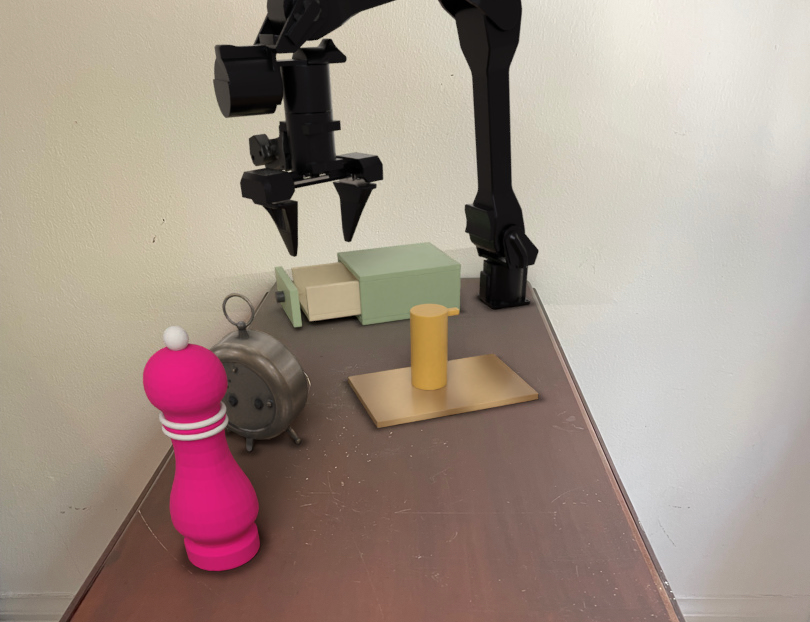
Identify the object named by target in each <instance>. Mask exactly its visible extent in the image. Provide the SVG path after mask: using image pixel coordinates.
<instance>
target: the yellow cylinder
mask: <svg viewBox="0 0 810 622" xmlns="http://www.w3.org/2000/svg"><path fill="white" fill-rule="evenodd" d="M459 315H460V311H459V309H458V308H456V307H454V308H446V307H445V306H442V305H438V304H421V305H417V306H414V307H412V308H411V309H410V319H409V332H410V333H409V334H410V367H411V383H412V385H413V386H414V387H416V388H418V389H422V390H436V389H440V388H442V387H444V386H445V385H446V384H447V361H448V355H449V354H448V350H449V349H448V346H449V345H448V343H449V342H448V340H449V317H452V316H459Z"/></svg>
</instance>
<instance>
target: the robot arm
mask: <svg viewBox="0 0 810 622" xmlns="http://www.w3.org/2000/svg"><path fill="white" fill-rule="evenodd" d="M395 1H397V0H266V12H267V13H266V15H265V17H264V20H263V21H262V23H261V26H260V28H259V31H258V33H257V35H256V37H255V40H254V43H253V44H249V45H234V44H223V43H222V44H215V45H214V53H215V59H214V65H213V75H214V78H213V79H212V83H213V89H214V93H215V99H216V103H217V105H218V108H219V110H220V113H221V114H222V116H223V117H224V118H225V119H230V118H242V117H254V116H266V115H274V114H275V113H276V110H277V108H278V106H281V105H282V102H283V109H284V110H283V111H284V119H285V120H279V121H278V123H279V125H278V136H277V137H275V138H269V137H268V135H267V134H266V133H259V134H254V135H251V136H250V137H248V147H249V148H248V149H249V156H250V158H251V162H252V164H253V165H254V166H255V167H261V166H264V167H263V168H258V169H252V170H246V171H243V174H242V176H241V177H240V180H239V187H240V193H241V198H243V199H247V200H251V201H252V203H253V204H254V205H258V206H262V208H263V209H264V210H265V211H266V212H267V214H268V215H269V216H270V218H271V219H272V222H273V223H274V224H275V226H276V229H277V231H278V233H279V236H280V237H281V239H282V241H283V243H284V246H285V248H286V250H287V253H288V254H289V255H290V256H291V257H295V258H296V257H297V256H298V250H299V201H298V200H294V199H292V198H293V196H294V194H295V193H296V189H301V188H305V187H309V186H314V185H321V184H325V183H330V182H332V184H333V186H334V188H335V191H336V193H337V195H338V198H339V207H340V217H341V219H340V220H341V231H342V236H343V240H344V242H345V243H351V242H352V241H353V238H354V236H355V232H356V230H357V228H358V225H359V222H360V219H361V216H362V214H363V211H364V209H365V207H366V205H367V203H368V201H369V198H370V196H371V194H372V192H373V190H375V189H377V187H378V184H377V183H375V182H380V181H384V164H383V162H382V161H381V159H380V157H379V155H377V154H370V153H364V152H357V151H354V152H349V153H343V154H337V149H336V136H335V132H337V131H341V130H342V127H341V126H342V125H341V120H340V119H334V111H333V96H332V95H333V94H332V82H331V70H330V69H331V67H330V65H332V64H333V65H334V64H345V63H347V60H348V58H347V55H346V54H344V52H342V50H340V49H339V48H338V46H337V45H336V44H335V43H334V41H333V39H332V38H330V37H329V38H326V36H327V35H329V34H331V33H332V32H334V31H336V30H337V29H340V27H342V26H343V25H345V24H346V23H347V22H348V21H349V20H350V19H352V18H353V17H354V16H356V15H358V14H359V13H361V12H364V11H368V10H371V9H373V8H377V7H381V6H384V5H386V4H389V3H392V2H395ZM437 2H438V3H439V5H440V7H441V8H442V9H443V11H445V12H446V13H447V14H448V15H449V16H450V17H451V18H452V19H453V20H455V21H454V22H455V26H456V32H457V37H458V42H459V47H460V50H461V52H462V54H463V57H464V59H465V61H466V63H467V66H468V68H469V70H470V74H471V83H472V84H471V85H472V100H473V101H472V102H473V120H474V139H475V157H476V174H477V176H476V177H477V192H476V194H475V197H474V200H473V201H472V203H465V204H464V215H465V218H466V219H465V220H466V223H465V224H466V225H465V229H464V232H465V233H466V234H468V236H469V240H470V242H471V243H472V244H473V245H474V246H475V248H476V252H477V257H480V258H483V263H482V270H480V271H479V291H478V293H477V298H478V299H480V300H481V301H482V302H483V303H484V304H486V305H487V306H489V307H490V308H491V309H496V310H497V309H503V308H509V307H516V306H524V305H530V304H531V299H530V298H528V297H527V285H528V274H529V267H530V266H534V265H535V263H536V261H537V258H538V255H539V253H540V252H539V249H538V248H537V246H536V245H535V244H534V242H533V241H532V240H531V239H530V238H529V236H528V235H527V234H526V225H525V219H524V213H523V209H522V206H521V204H520V202H519V199H518V197H517V195H516V193H515V191H514V187H513V169H512V167H513V165H512V163H513V162H512V127H511V87H510V86H511V85H510V68H511V65H512V62H513V60H514V57H515V55H516V52H517V49H518V46H519V44H520V38H521V31H522V29H521V28H522V19H523V5H522V4H523V2H522V0H437ZM324 37H325V38H324ZM319 40H321V41H320V43H319V44H318V45H317V46H305V47H304V44H305V43H307V42H312V41H313V42H315V41H319ZM278 54H279V55H282V54H292V55H291V58H285V59H284V58H283V59H277V55H278Z"/></svg>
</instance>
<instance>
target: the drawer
mask: <svg viewBox="0 0 810 622" xmlns="http://www.w3.org/2000/svg"><path fill="white" fill-rule="evenodd" d="M274 275H275V283H276V289H277V290H276V291H274V297H275V298H274V299H275V302H276V304H280V306H281V307H282V309H283V311H284V312H285V314H286V316H287V317H288V319H289V321H290V323H291V325H292V326H293V327H294V328H300V327H303V321H302V313H301V310H302V312H303V313H304V315H305V317H306V318H307V320H308V321H309V322H314V321H315V322H316V321H324V320H330V319H338V318H345V317H352V316H355V315H359V314H361V306H360V290H359V280H358V279H357V278H356V277H355V276H354V275H353V274H352V273H351V272H350V271H349V270H348V268H347V267H346V266H345V265H344V264H343V263H342V262H338V261H337V262H328V263H327V262H326V263H320V264H313V265H304V266H295V267H291V276H292V278H290V276H289V274H288V273H287V272H286V270H285V268H284V267H283V266H274Z"/></svg>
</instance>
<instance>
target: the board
mask: <svg viewBox="0 0 810 622" xmlns="http://www.w3.org/2000/svg"><path fill="white" fill-rule="evenodd" d="M347 383H348V384H349V386H350V387H351V390H352V391H353V392H354V394H355V395H356V397H357V398H358V400H359V402H360V403H361V405H362V406H363V408H364V409H365V411H366V412H367V414H368V416H369V417H370V418H371V421H372V422H373V424H374V425H375V426H376V428H377V429H381V428H386V427H392V426H397V425H402V424H408V423H414V422H419V421H426V420H430V419H437V418H441V417H448V416H453V415H458V414H464V413H469V412H475V411H480V410H481V411H482V410H485V409H490V408H491V409H492V408H497V407H498V408H499V407H502V406H503V407H504V406H509V405H514V404H519V403H525V402H530V401H536V400H538V399H539V392H538V391H537V390H535V389H534V387H532V386H531V385H530V384H529V383H528V382H526V381H525V380H524V379H523V378H522V377H521V376H520V375H518V373H516V372H515V371H514V370H513V369H512V368H511V367H509V366H508V365H507V364H506V363H505V362H504V361H502V360H501V358H499V357H498V356H497V355H496V354H495V353H488V354H481V355H476V356H469V357H462V358H458V359H451V360H450V359H449V360H447V384H446V385H445V386H444V387H442V388H440V389H436V390H422V389H418V388H416V387H414V386H413V385H412V383H411V366H407V367H400V368H394V369H388V370H381V371H376V372H370V373H364V374H357V375H351V376H348V377H347Z"/></svg>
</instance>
